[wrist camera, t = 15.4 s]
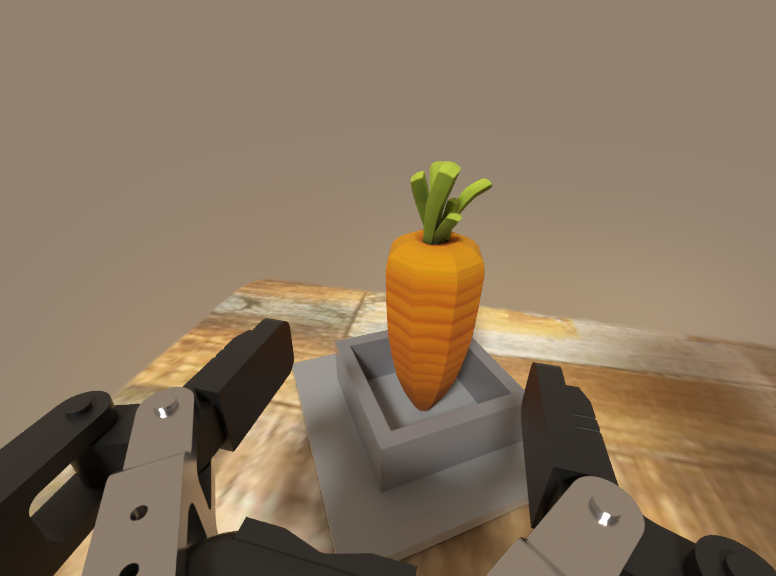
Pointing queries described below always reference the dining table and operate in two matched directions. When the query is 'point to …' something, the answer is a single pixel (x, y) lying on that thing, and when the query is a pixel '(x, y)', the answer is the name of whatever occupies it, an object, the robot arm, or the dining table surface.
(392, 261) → the carrot
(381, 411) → the sleeve stand
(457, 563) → the dining table surface
